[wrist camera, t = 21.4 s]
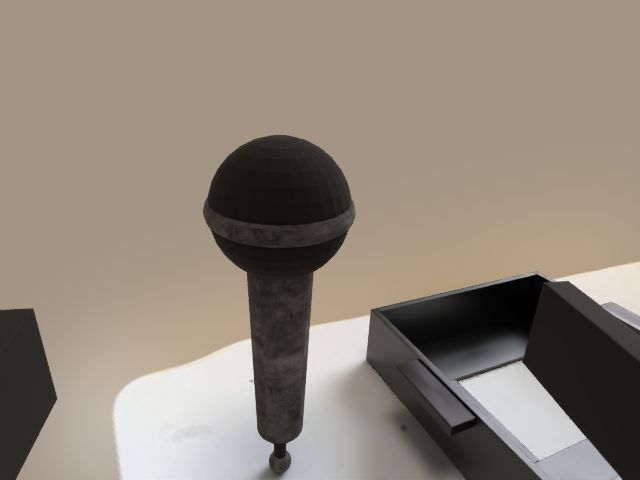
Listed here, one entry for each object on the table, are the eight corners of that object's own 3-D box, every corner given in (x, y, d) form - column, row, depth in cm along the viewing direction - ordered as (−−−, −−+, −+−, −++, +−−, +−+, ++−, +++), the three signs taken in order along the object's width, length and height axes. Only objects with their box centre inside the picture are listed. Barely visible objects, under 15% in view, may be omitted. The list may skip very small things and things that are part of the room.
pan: (538, 310, 45) (550, 267, 43) (759, 448, 30) (792, 393, 28) (346, 364, 36) (350, 313, 35) (521, 593, 22) (546, 528, 20)
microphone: (254, 413, 31) (245, 118, 23) (349, 441, 29) (376, 130, 21) (199, 499, 25) (162, 143, 17) (314, 542, 24) (333, 164, 15)
